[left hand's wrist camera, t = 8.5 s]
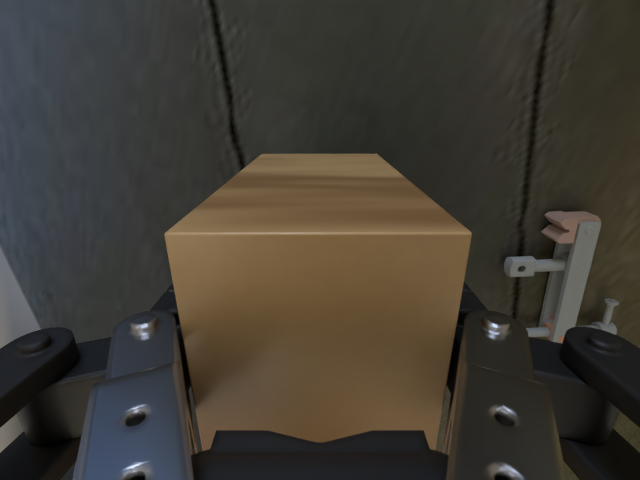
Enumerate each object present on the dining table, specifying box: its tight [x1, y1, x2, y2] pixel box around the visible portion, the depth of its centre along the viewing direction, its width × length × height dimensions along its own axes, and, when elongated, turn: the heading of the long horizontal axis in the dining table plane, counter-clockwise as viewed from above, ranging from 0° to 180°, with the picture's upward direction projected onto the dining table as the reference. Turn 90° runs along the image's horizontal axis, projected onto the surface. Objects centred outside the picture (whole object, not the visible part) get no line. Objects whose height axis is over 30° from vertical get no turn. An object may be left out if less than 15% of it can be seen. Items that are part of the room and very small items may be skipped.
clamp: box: [504, 211, 619, 343], centre depth 29 cm, size 15×2×10 cm
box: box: [165, 154, 472, 451], centre depth 16 cm, size 24×6×12 cm, turn 0°
